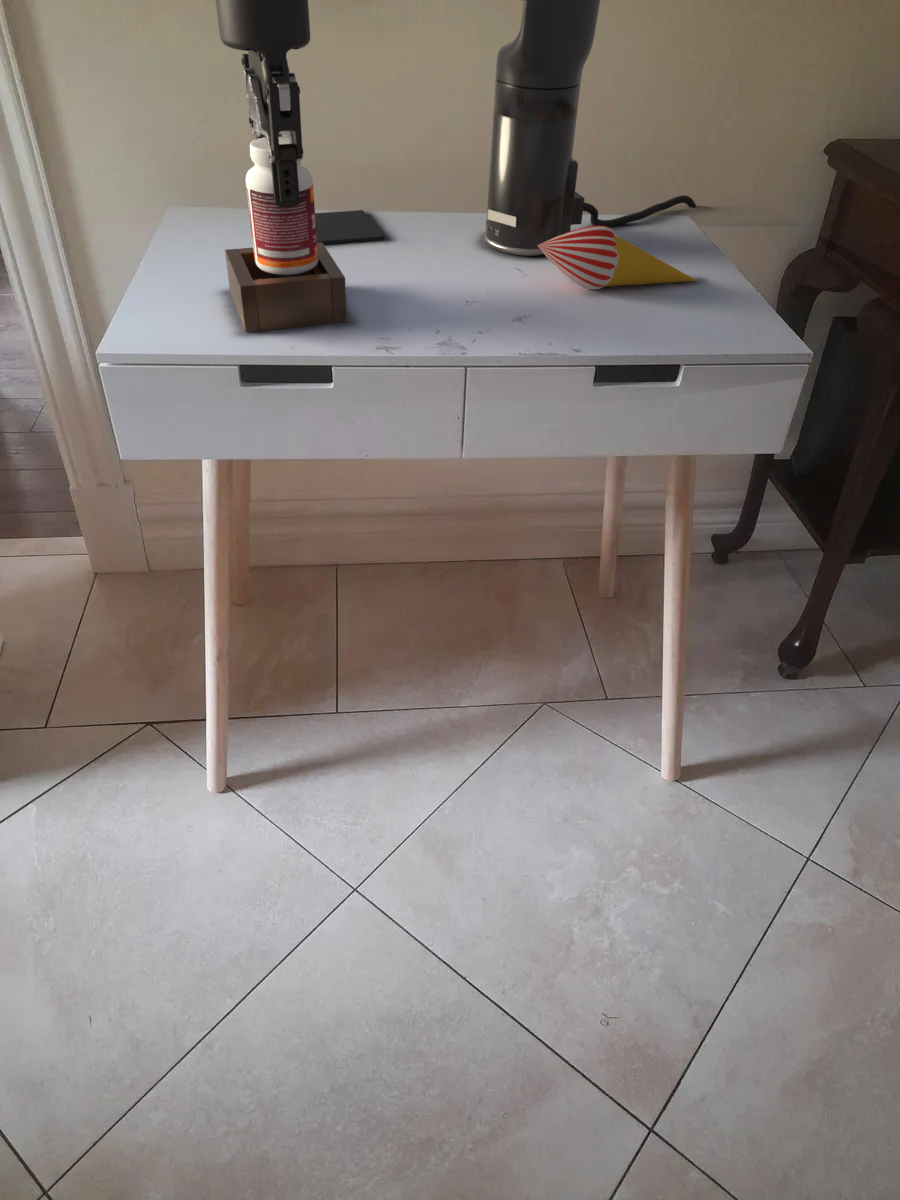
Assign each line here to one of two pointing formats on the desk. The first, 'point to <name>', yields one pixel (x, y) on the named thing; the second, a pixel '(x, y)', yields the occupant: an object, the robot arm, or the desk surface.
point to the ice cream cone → (606, 260)
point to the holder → (286, 293)
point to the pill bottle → (280, 218)
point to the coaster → (345, 227)
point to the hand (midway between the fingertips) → (280, 193)
